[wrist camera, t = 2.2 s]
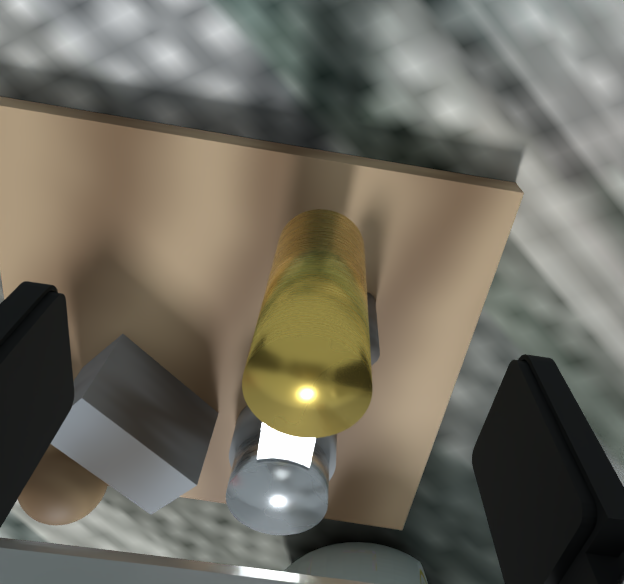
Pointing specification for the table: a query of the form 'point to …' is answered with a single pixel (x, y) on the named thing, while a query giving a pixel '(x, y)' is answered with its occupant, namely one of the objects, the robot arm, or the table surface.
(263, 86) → the table surface
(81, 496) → the walnut ball
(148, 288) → the base
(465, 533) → the table surface
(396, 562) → the air freshener
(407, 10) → the table surface
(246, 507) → the lever
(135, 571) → the robot arm
